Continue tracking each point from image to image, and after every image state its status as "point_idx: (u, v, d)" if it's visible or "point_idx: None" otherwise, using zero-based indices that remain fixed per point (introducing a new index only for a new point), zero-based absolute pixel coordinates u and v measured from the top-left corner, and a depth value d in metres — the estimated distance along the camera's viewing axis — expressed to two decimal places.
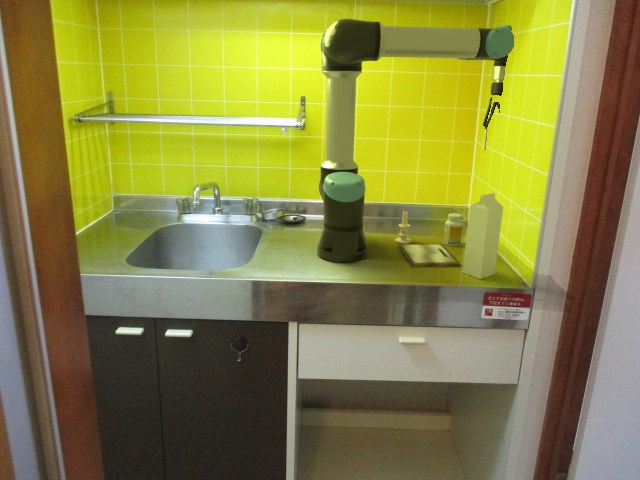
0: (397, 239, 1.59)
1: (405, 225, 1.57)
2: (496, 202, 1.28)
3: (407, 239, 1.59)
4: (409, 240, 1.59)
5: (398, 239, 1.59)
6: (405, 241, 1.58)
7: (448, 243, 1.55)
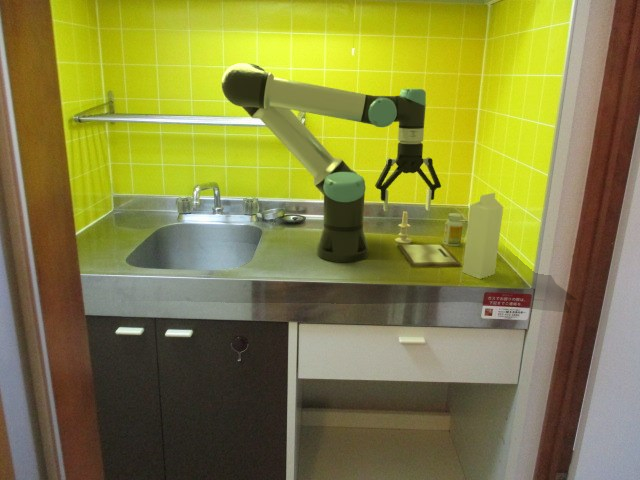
0: (397, 239, 1.59)
1: (405, 225, 1.57)
2: (496, 202, 1.28)
3: (407, 239, 1.59)
4: (409, 240, 1.59)
5: (398, 239, 1.59)
6: (405, 241, 1.58)
7: (448, 243, 1.55)
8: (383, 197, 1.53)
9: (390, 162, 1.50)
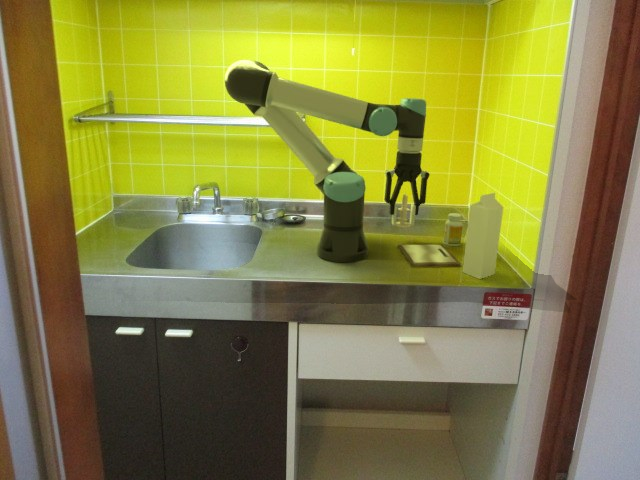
0: (396, 223, 1.58)
1: (405, 209, 1.55)
2: (496, 202, 1.28)
3: (406, 223, 1.58)
4: (408, 224, 1.57)
5: (397, 223, 1.58)
6: (404, 225, 1.56)
7: (448, 243, 1.55)
8: (392, 211, 1.55)
9: (389, 175, 1.51)
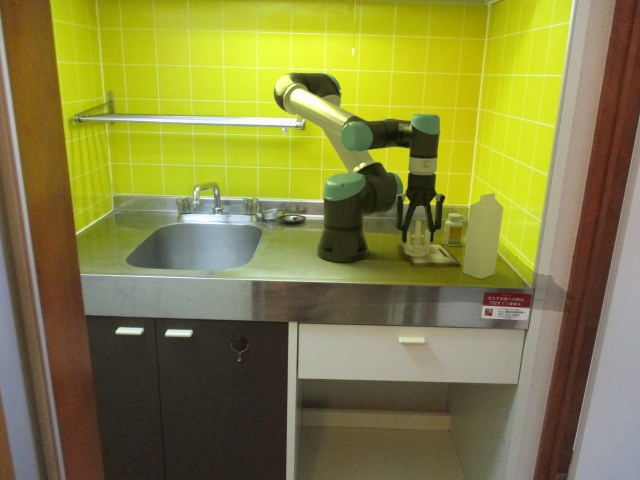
0: (409, 251, 1.42)
1: (418, 236, 1.40)
2: (496, 202, 1.28)
3: (421, 251, 1.42)
4: (423, 252, 1.42)
5: (410, 251, 1.42)
6: (418, 253, 1.41)
7: (448, 243, 1.55)
8: (404, 239, 1.40)
9: (400, 199, 1.36)
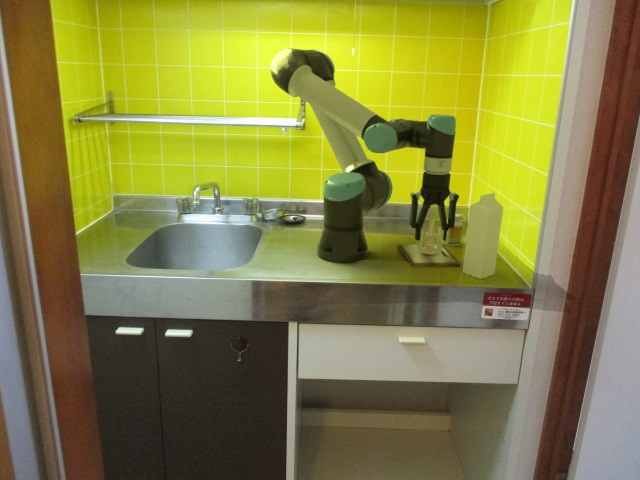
0: (422, 249, 1.45)
1: (432, 234, 1.43)
2: (496, 202, 1.28)
3: (433, 249, 1.45)
4: (436, 250, 1.45)
5: (423, 249, 1.45)
6: (431, 251, 1.44)
7: (448, 243, 1.55)
8: (418, 236, 1.43)
9: (415, 197, 1.39)
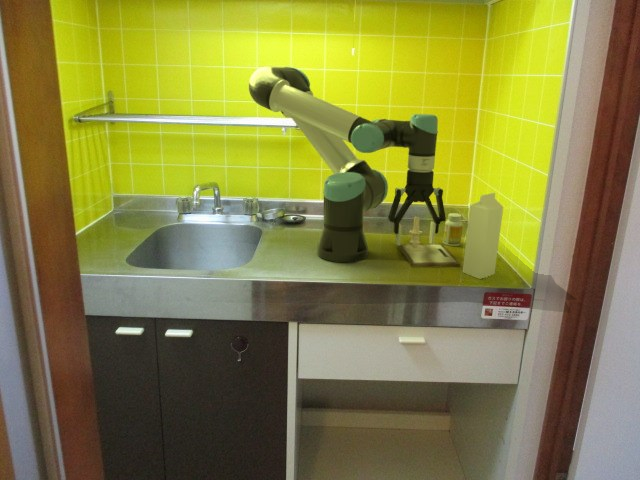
0: (408, 246, 1.50)
1: (416, 231, 1.47)
2: (496, 202, 1.28)
3: (418, 246, 1.50)
4: (421, 247, 1.49)
5: (409, 246, 1.50)
6: (416, 248, 1.48)
7: (448, 243, 1.55)
8: (396, 230, 1.47)
9: (399, 193, 1.43)
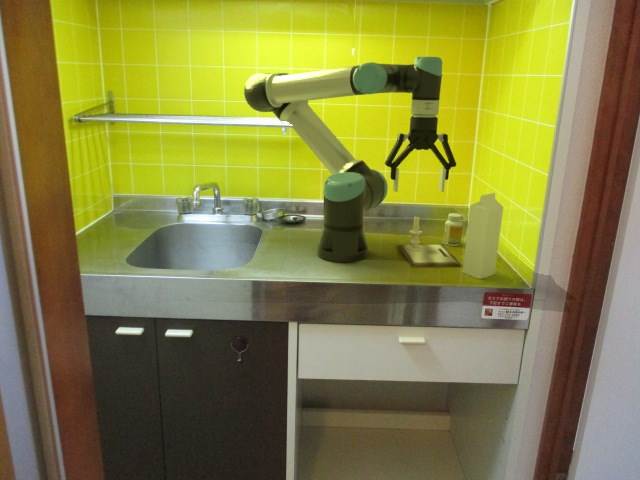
0: (408, 246, 1.50)
1: (416, 231, 1.47)
2: (496, 202, 1.28)
3: (418, 246, 1.50)
4: (421, 247, 1.49)
5: (409, 246, 1.50)
6: (416, 248, 1.48)
7: (448, 243, 1.55)
8: (393, 176, 1.42)
9: (402, 137, 1.38)
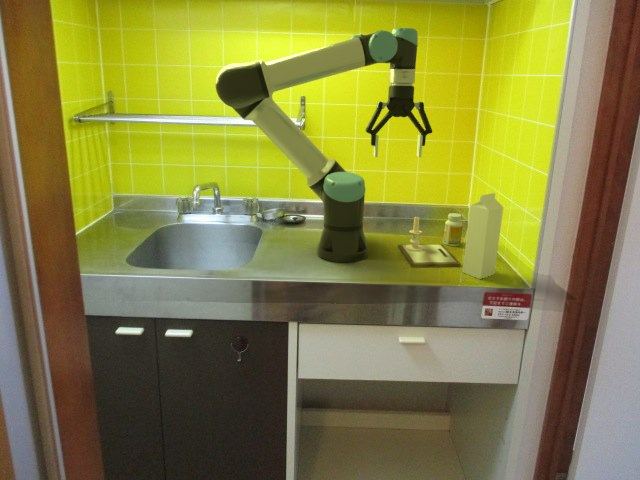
0: (408, 246, 1.50)
1: (416, 231, 1.47)
2: (496, 202, 1.28)
3: (418, 246, 1.50)
4: (421, 247, 1.49)
5: (409, 246, 1.50)
6: (416, 248, 1.48)
7: (448, 243, 1.55)
8: (373, 142, 1.51)
9: (381, 105, 1.47)
